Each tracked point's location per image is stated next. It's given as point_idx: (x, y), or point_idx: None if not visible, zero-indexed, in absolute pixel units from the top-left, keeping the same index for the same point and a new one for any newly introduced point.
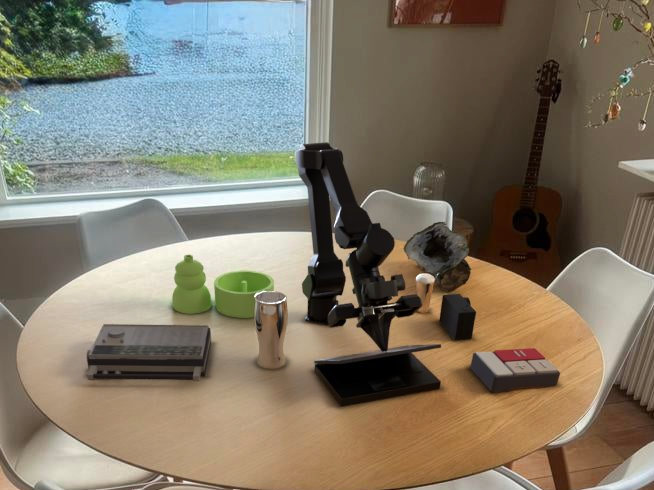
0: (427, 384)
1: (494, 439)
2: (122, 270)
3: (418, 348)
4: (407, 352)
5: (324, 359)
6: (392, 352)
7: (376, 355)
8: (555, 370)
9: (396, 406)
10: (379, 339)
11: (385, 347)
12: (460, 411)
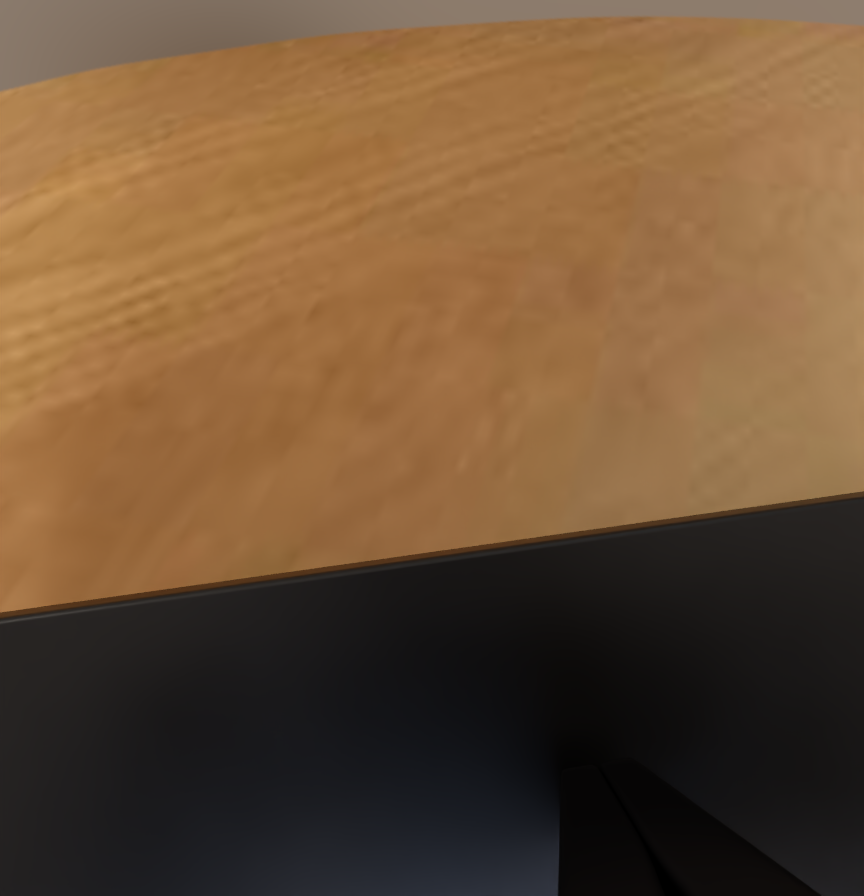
0: None
1: (78, 150)
2: None
3: (46, 610)
4: (270, 577)
5: None
6: (533, 545)
7: (804, 505)
8: None
9: (474, 492)
10: (809, 886)
11: (612, 784)
12: (77, 373)
